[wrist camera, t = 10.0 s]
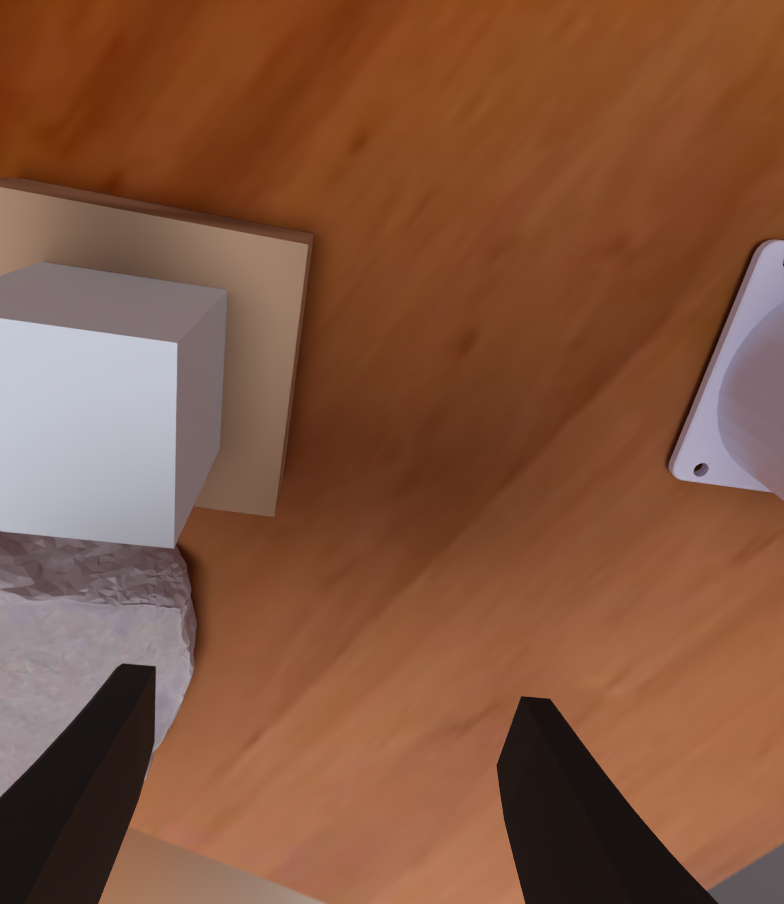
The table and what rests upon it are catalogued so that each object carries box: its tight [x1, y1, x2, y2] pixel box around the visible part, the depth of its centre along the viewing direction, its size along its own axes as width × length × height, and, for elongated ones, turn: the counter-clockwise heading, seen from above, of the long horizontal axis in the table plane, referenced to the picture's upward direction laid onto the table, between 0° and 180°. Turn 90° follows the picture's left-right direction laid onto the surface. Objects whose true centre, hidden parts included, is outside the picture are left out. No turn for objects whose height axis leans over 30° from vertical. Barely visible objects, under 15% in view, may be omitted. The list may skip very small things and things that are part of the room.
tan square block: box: [0, 178, 314, 517], centre depth 18 cm, size 8×8×3 cm
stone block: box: [0, 531, 197, 796], centre depth 22 cm, size 12×5×10 cm
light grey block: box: [0, 262, 228, 549], centre depth 14 cm, size 4×4×5 cm
